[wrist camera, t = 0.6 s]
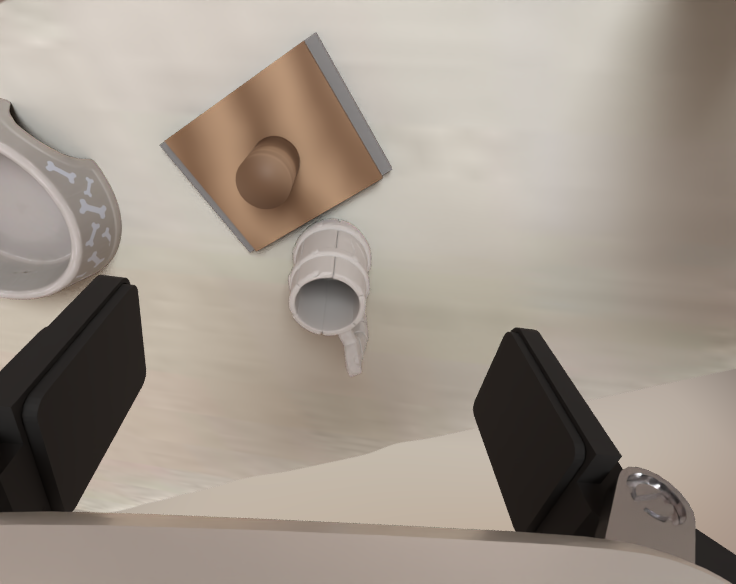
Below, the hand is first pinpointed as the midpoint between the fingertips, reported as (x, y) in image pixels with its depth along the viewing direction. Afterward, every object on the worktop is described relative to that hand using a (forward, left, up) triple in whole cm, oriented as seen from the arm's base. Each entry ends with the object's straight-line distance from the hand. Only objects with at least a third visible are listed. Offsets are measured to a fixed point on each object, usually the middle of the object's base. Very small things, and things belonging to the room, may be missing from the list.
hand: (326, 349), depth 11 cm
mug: (+8, +12, -30) cm, 33 cm away
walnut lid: (+7, 0, -29) cm, 30 cm away
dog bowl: (+30, -10, -30) cm, 44 cm away
